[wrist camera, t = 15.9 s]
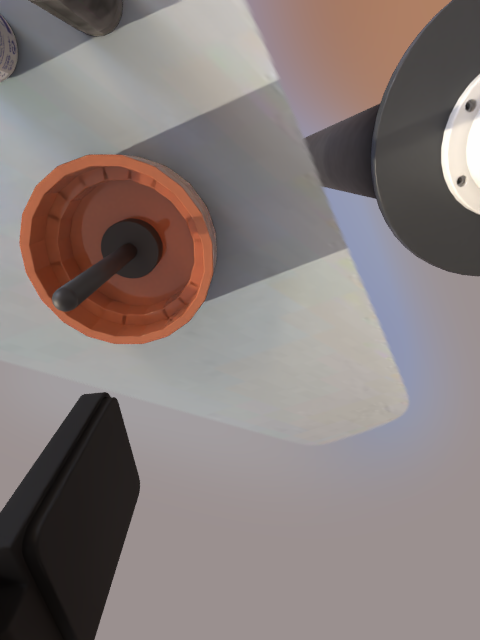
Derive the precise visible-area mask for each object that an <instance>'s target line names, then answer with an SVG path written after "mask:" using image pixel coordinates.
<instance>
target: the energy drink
mask: <svg viewBox="0 0 480 640" xmlns="http://www.w3.org/2000/svg"><path fill="white" fill-rule="evenodd" d="M17 57H18V50H17V43H16V39H15V36H14V34H13V31H12V29H11V27H10V26H9V24H8V22H7V21H6V20H5V19H4V17H3V16H2V15H1V14H0V82H2V81H4V80H6V79H7V78H8V77H9V76H10V75H11V74H12V72H13V71H14V69H15V66H16V63H17Z"/></svg>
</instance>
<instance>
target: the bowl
mask: <svg viewBox="0 0 480 640" xmlns="http://www.w3.org/2000/svg"><path fill="white" fill-rule="evenodd" d="M129 218H134V219H140V220H143V221H145V222H147V223H149V224H150V225H151V226H153V227H154V228H155V230H156V231H157V232H158V234H159V236H160V238H161V241H162V245H163V252H162V257H161V259H160V261H159V263H158V264H157V265H156V266H155V268H154V269H153V270H152V271H151V272H150V273H149V274H147V275H145V276H143V277H140V278H126V277H122V276H120V275H118V274H115V275H113V276H112V277H111V278H110V279H109V280H108V281H106V282H105V283H104V284H103V285H102V286H101V287H99V288H98V289H97V290H96V291H95V292H94V293H92V294H91V295H90V296H89V297H88V298H87V299H85V300H84V301H83V302H82V303H81V304H80V305H78V306H77V307H76V308H75V309H73V310H72V311H68V312H64V311H60V310H58V309H57V308H55V306H54V305H53V303H52V296H53V293H54V292H55V291H56V290H57V289H59V288H60V287H62V286H63V285H65V284H66V283H68V282H69V281H71V280H72V279H74V278H75V277H77V276H78V275H80V274H81V273H83V272H84V271H85V270H87V269H88V268H90V267H91V266H93V265H94V264H96V263H97V262H99V261H100V260H102V259H103V256H102V253H101V240H102V237H103V235H104V233H105V231H106V230H107V229H108V228H109V227H110V226H112V225H113V224H115V223H117V222H120V221H122V220H125V219H129ZM20 248H21V253H22V257H23V261H24V266H25V270H26V273H27V275H28V277H29V279H30V281H31V282H32V284H33V286H34V288H35V290H36V291H37V293H38V295H39V297H40V298H41V300H42V301H43V302H44V303H45V304H46V305H47V306H48V307H49V308H50V309H51V310H52V311H53V312H54V313H55V314H56V315H57V316H58V317H59V318H60V319H61V320H62V321H63V322H64V323H66V324H68V325H69V326H71V327H73V328H74V329H76V330H78V331H79V332H81V333H83V334H85V335H86V336H89V337H92V338H96V339H99V340H103V341H106V342H110V343H114V344H115V343H116V344H142V343H143V344H144V343H147V342H151V341H154V340H157V339H161V338H164V337H167V336H169V335H171V334H172V333H173V332H175V331H176V330H178V329H179V328H181V327H182V326H183V325H185V324H186V323H188V322H189V321H190V320H191V319H192V317H193V316H194V315H195V313H196V312H197V310H198V309H199V308H200V306H201V305H202V304H203V302H204V301H205V299H206V296H207V293H208V289H209V286H210V283H211V279H212V276H213V273H214V269H215V264H216V260H217V247H216V231H215V228H214V226H213V223H212V220H211V217H210V214H209V211H208V208H207V206H206V205H205V203H204V202H203V201H202V199H201V198H200V197H199V195H198V194H197V193H196V191H195V190H194V188H193V187H192V186H191V184H190V183H188V182H187V181H186V180H184V179H183V178H182V177H180V176H179V175H178V174H176V173H175V172H174V171H172V170H171V169H170V168H168V167H167V166H165V165H162V164H159V163H156V162H153V161H150V160H147V159H144V158H141V157H138V156H129V155H86V156H83V157H80V158H78V159H75V160H72V161H70V162H67V163H64V164H62V165H59V166H57V167H56V168H55V169H54V170H53V171H52V172H51V173H50V174H48V175H47V176H46V177H45V178H44V179H43V180H42V181H41V182H40V183H39V184H38V185H36V187H35V189H34V191H33V193H32V195H31V197H30V199H29V201H28V203H27V205H26V207H25V209H24V212H23V214H22V222H21V232H20Z"/></svg>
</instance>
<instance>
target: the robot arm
mask: <svg viewBox="0 0 480 640" xmlns="http://www.w3.org/2000/svg"><path fill="white" fill-rule="evenodd" d="M465 105H467V109H465ZM441 164H442V170H443V175H444V179H445V181H446V184H447V186H448V188H449V190H450V192H451V193H452V194H453V196H454V197H455V199H456V200H457V201H458V202H459V203H460V204H462V205H463V206H464V207H465V208H466V209H468V210H470V211H472V212H474V213H476V214H479V215H480V74H479V75H478V76H477V77H476V78H475V79H474V80H473V81H472V82H471V83H470V84H469V85H468V87H467V88H466V89H465V91H464V92H463V94H462V95H461V96H460V98H459V99H458V101H457V103H456V105H455V107H454V108H453V110H452V112H451V114H450V116H449V119H448V122H447V125H446V128H445V131H444V135H443V141H442V146H441ZM457 179H459V181H458V183H457ZM139 491H140V480H139V475H138V472H137V468H136V465H135V461H134V457H133V454H132V450H131V447H130V443H129V440H128V436H127V432H126V429H125V425H124V422H123V418H122V414H121V411H120V407H119V403H118V401H117V399H116V398H114V397H113V398H111V397H110V395H109V394H108V393H106V392H104V393H94V394H84V395H82V396H81V397H80V398H79V400H78V401H77V403H76V404H75V406H74V407H73V408H72V410H71V412H70V413H69V414H68V416H67V417H66V419H65V420H64V421H63V423H62V424H61V426H60V427H59V429H58V430H57V432H56V433H55V434H54V436H53V437H52V439H51V440H50V442H49V443H48V445H47V446H46V447H45V449H44V450H43V452H42V453H41V455H40V456H39V458H38V459H37V461H36V462H35V463H34V465H33V466H32V468H31V469H30V471H29V472H28V474H27V475H26V476H25V478H24V479H23V481H22V482H21V484H20V485H19V487H18V488H17V489H16V491H15V492H14V494H13V495H12V497H11V498H10V499H9V501H8V502H7V504H6V505H5V507H4V508H3V510H2V511H1V512H0V640H94V639H95V636H96V632H97V629H98V626H99V623H100V619H101V616H102V613H103V610H104V606H105V603H106V600H107V596H108V593H109V590H110V587H111V584H112V580H113V577H114V574H115V570H116V567H117V564H118V561H119V557H120V554H121V551H122V548H123V544H124V541H125V538H126V534H127V531H128V528H129V525H130V522H131V518H132V515H133V511H134V509H135V505H136V502H137V498H138V496H139Z"/></svg>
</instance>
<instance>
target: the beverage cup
mask: <svg viewBox="0 0 480 640" xmlns="http://www.w3.org/2000/svg"><path fill="white" fill-rule="evenodd" d="M29 1H31V2H32V3H34V4H36V5H37V6H39V7H41V8H42V9H44V10H46V11H47V12H49V13H51V14H52V15H54V16H56V17H57V18H59V19H61V20H62V21H64V22H66V23H67V24H69V25H71V26H72V27H74V28H76V29H77V30H80V31H83V32H85V33H86V34H88V35H92V36H104V35H106V34H108V33H110V32H112V31H113V30H114V29H115V27H116V26H117V25H118V23H119V21H120V18H121V15H122V6H123V2H122V0H29Z"/></svg>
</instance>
